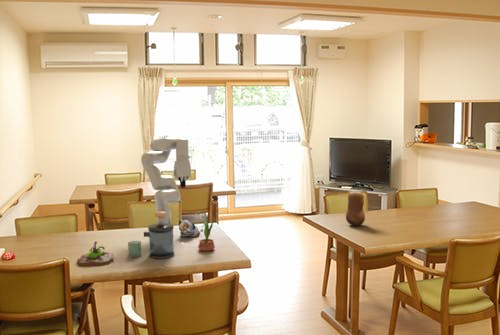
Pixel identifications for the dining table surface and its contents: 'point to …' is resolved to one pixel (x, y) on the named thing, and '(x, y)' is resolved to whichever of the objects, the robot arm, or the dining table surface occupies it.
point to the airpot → (160, 241)
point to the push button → (160, 216)
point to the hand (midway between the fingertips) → (182, 187)
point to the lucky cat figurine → (188, 228)
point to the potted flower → (206, 235)
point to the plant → (95, 257)
